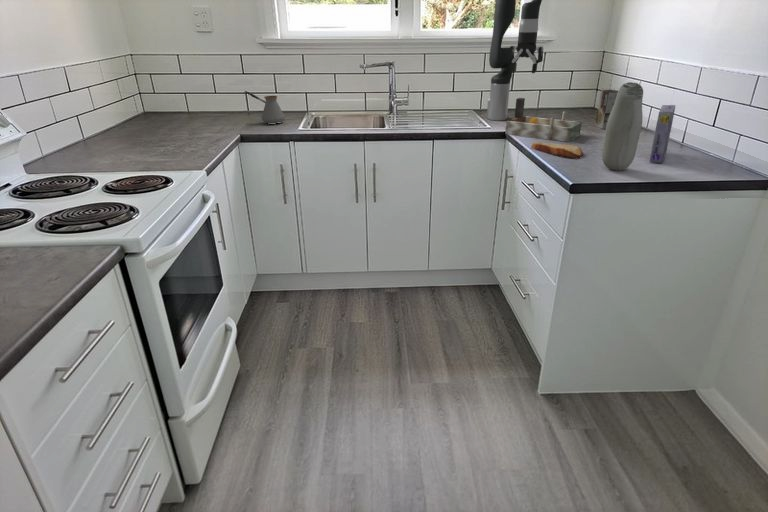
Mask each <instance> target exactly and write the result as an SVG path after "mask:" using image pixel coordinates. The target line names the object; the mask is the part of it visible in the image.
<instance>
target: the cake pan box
mask: <svg viewBox="0 0 768 512" xmlns="http://www.w3.org/2000/svg"><path fill="white" fill-rule="evenodd" d="M661 105H662V104H661ZM675 110H676V105H675V104H672V105H671V104H668V105H666V104H665V105H662V106H661V108H660V109H659V112H658V116H657V121H656V126H655V131H654V136H653V143H652V147H651V152H650V157H649V163H656V164H661V163H663V164H664V162H665V158H666V155H667V150H668V146H669V142H670V136H671V132H672V126H673V121H674V117H675V116H674V115H675V112H676V111H675Z"/></svg>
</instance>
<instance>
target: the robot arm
mask: <svg viewBox="0 0 768 512" xmlns="http://www.w3.org/2000/svg"><path fill="white" fill-rule="evenodd" d="M542 1H543V0H531V1H528V2H525V3H523V4H522V6H521V11H520V12H521V13H520V21H519V27H518V37H517V45H516V46H515V45H510V46H509V47H507V46H506V47H502V43H503V39H504V36H505V33H506V32H507V30H508V29H509V28H510V26H511V24H512V22H513V21H514V19H515V14H516V5H517V0H495V4H494V15H493V30H492V37H491V44H490V49H489V58H488V59H489V60H488V61H489V62H488V63H489V66H490V68H492V69H500V71H499V72H498V73H496V74H495V75H493V76H492V77H491V79H490V87H489V88H490V91H489V98H488V99H487V108H486V109H487V110H486V120H487V119H488V120H490V121H506V120H507V118H508V109H509V108H508V107H509V99H510V89H511V88H510V87H511V81H512V76H513V73H516V72H517V65H518V63H517V62H518V61H519V59H520V58H528V59H530V60H531V61H532V67H531V68H532V69H531V74H535V73H536V72H537V71H538V64H539V63H542V62H543V58H544V46H537V42H538V41H537V40H538V31H539V16H540V7H541V4H542ZM515 52H517V53H516V55H515ZM535 52H537V55H536V53H535Z"/></svg>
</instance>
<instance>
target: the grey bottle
mask: <svg viewBox="0 0 768 512" xmlns="http://www.w3.org/2000/svg"><path fill="white" fill-rule="evenodd" d="M617 91H618V93H617V97H616V100H615V104H614V106H613V108H612V111H611V113H610V116H609V118H608V122H607V127H606V129H605V133H604V134H605V135H604V139H603V140H604V141H603V146H602V152H601V160H602V163H603V165H604V166H605V167H606V168H607V169H610V170H611V169H612V171H623V170H626V169H627V168H629V167H630V165H632V163H633V161H634V160H635V157H636V152H637V148H638V144H639V140H640V135H641V132H642V131H641V130H642V127H643V97H644V89H643V87H642V85H641V84H639V83H637V82H631V81H630V82H626V83H623V84H622V85H621V86H620V87H619V89H618V90H617Z"/></svg>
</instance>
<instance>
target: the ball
mask: <svg viewBox="0 0 768 512" xmlns="http://www.w3.org/2000/svg"><path fill="white" fill-rule="evenodd" d="M531 117H532V118H531V119H530V120H529V123H532V124H538V119H537V118H538V117H537V116H536V117H535V116H531Z"/></svg>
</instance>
